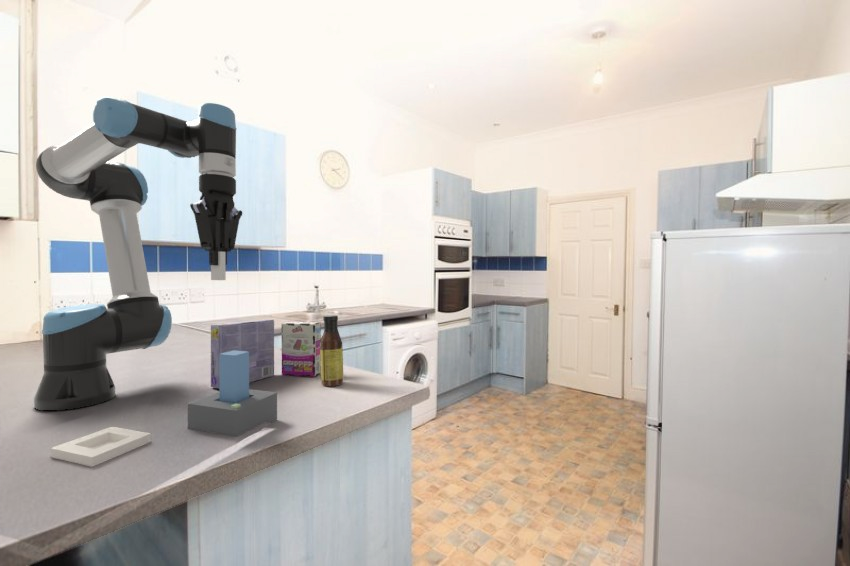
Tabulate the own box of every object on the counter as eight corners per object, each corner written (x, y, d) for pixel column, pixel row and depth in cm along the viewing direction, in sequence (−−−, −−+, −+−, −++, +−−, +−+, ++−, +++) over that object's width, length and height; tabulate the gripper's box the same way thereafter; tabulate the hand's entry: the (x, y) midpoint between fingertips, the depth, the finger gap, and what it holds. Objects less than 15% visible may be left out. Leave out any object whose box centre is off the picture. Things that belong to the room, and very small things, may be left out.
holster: (50, 462, 68) (50, 448, 68) (112, 439, 78) (112, 426, 78) (92, 472, 65) (92, 457, 65) (151, 446, 75) (150, 433, 75)
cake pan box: (267, 373, 128) (267, 317, 127) (278, 375, 126) (278, 318, 125) (208, 388, 111) (208, 324, 111) (219, 391, 109) (219, 325, 108)
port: (187, 433, 81) (187, 401, 81) (233, 413, 93) (232, 384, 92) (236, 441, 78) (236, 407, 77) (277, 419, 89) (277, 390, 89)
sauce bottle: (347, 383, 118) (348, 315, 117) (332, 388, 112) (332, 317, 112) (331, 379, 121) (331, 313, 120) (315, 384, 116) (315, 315, 115)
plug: (219, 421, 84) (219, 353, 83) (234, 414, 88) (233, 350, 87) (235, 423, 83) (234, 355, 82) (249, 416, 86) (249, 351, 86)
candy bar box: (321, 373, 129) (321, 321, 128) (314, 377, 124) (314, 324, 123) (288, 371, 130) (288, 320, 130) (280, 375, 125) (280, 322, 125)
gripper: (207, 168, 85) (208, 281, 86) (251, 181, 97) (251, 279, 98) (179, 170, 87) (180, 280, 88) (226, 183, 99) (227, 279, 100)
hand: (218, 279), depth 93 cm, fingers closed
